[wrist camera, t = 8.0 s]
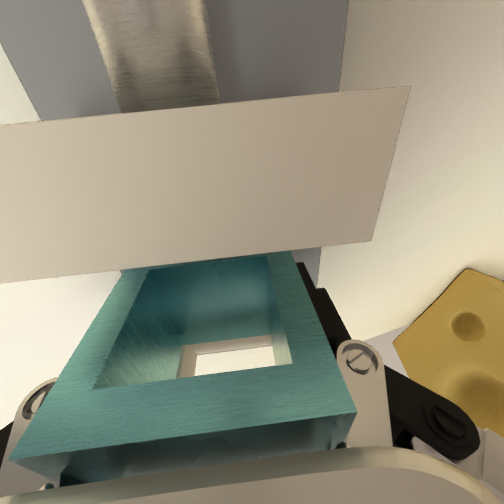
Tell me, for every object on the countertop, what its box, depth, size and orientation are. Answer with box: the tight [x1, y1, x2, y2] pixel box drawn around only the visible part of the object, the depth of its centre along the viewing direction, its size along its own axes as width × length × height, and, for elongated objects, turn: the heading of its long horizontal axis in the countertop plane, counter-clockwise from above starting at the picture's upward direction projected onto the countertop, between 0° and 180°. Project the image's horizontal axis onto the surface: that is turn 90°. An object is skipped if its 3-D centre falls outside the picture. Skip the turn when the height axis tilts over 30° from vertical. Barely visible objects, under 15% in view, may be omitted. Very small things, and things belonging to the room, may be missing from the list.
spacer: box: [7, 250, 357, 484], centre depth 9 cm, size 5×7×7 cm
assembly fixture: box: [0, 0, 411, 379], centre depth 10 cm, size 21×12×8 cm, turn 5°
